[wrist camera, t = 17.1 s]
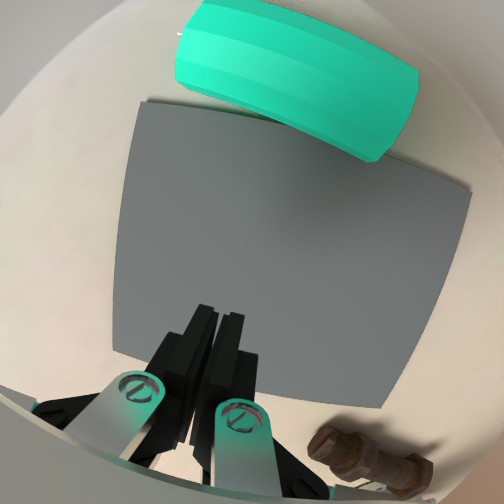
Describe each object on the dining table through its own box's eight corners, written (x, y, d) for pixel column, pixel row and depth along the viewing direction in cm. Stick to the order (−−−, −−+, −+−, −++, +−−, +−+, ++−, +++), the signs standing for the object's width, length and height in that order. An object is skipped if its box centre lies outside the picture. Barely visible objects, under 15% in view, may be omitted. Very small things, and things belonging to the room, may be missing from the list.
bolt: (320, 407, 24) (411, 451, 25) (289, 450, 23) (386, 485, 24) (352, 429, 18) (443, 467, 20) (313, 480, 17) (415, 506, 18)
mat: (467, 191, 16) (472, 192, 16) (378, 403, 21) (380, 408, 21) (144, 103, 16) (141, 101, 16) (115, 346, 21) (112, 350, 21)
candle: (394, 71, 14) (212, 2, 14) (433, 61, 9) (176, -30, 9) (357, 153, 17) (179, 83, 17) (380, 175, 12) (132, 80, 11)
